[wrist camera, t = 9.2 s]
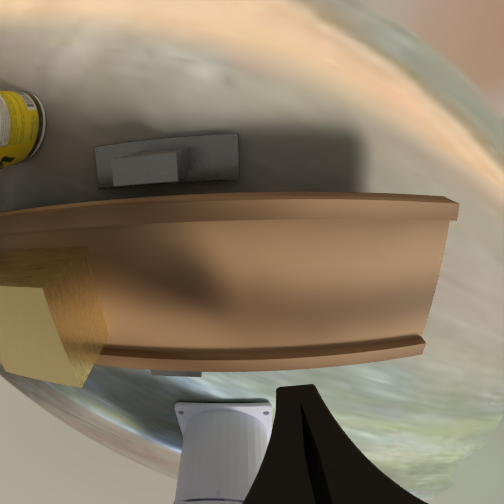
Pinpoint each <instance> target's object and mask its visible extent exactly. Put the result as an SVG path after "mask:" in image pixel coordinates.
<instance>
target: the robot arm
mask: <svg viewBox="0 0 504 504" xmlns="http://www.w3.org/2000/svg"><path fill="white" fill-rule="evenodd" d="M174 409H175V413H176V416H177V419H178V422H179V426H180V429H181V432H182V435H183V438H184V439H183V445H182V452H181V459H180V466H179V473H178V481H177V488H176V496H175V501H174V504H428V503H426V502H424V501H422V500H420V499H419V498H417V497H415V496H414V495H412V494H411V493H409V492H408V491H406V490H405V489H403V488H402V487H400V486H399V485H398V484H396V483H395V482H394V481H393V480H391V479H390V478H389V477H387V476H386V475H385V474H384V473H382V472H381V471H380V470H379V469H378V468H377V467H376V466H375V465H374V464H373V463H372V462H371V461H370V460H368V459H367V458H366V457H365V456H364V454H363V453H362V452H361V451H360V450H359V449H358V448H357V447H356V446H355V444H354V443H353V442H352V441H351V440H350V439H349V437H348V436H347V435H346V434H345V432H344V431H343V430H342V428H341V427H340V426H339V424H338V423H337V421H336V420H335V419H334V417H333V416H332V414H331V413H330V411H329V410H328V408H327V406H326V405H325V403H324V401H323V400H322V398H321V396H320V394H319V393H318V391H317V389H316V387H315V385H313V384H309V385H298V386H286V387H279V388H277V389H276V413H275V419H274V424H273V428H272V405H271V404H270V403H185V402H177V403H175V406H174ZM271 429H272V433H271Z"/></svg>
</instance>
